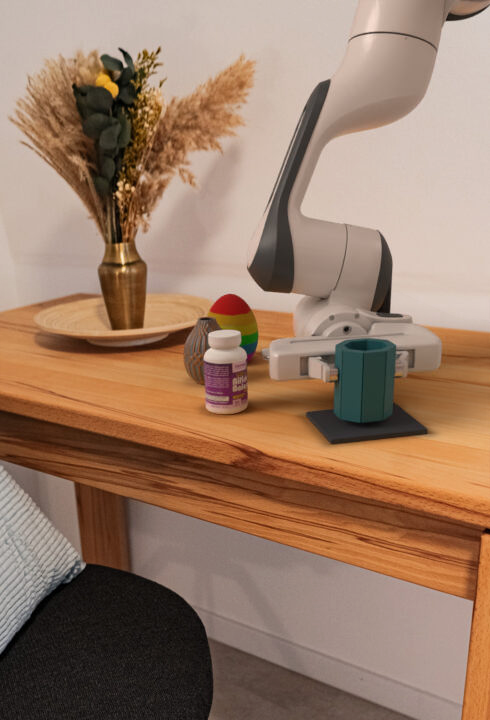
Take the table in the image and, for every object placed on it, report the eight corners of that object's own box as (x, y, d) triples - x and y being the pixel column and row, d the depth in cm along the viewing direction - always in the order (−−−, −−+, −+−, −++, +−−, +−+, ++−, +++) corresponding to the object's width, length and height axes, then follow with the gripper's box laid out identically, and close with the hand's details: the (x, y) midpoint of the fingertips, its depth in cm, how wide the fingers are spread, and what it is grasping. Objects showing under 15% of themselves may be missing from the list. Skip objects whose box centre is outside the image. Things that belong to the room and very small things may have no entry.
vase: (226, 388, 114) (223, 324, 110) (178, 387, 116) (174, 324, 113) (239, 374, 120) (237, 312, 116) (193, 373, 122) (190, 312, 118)
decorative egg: (193, 365, 126) (190, 297, 122) (223, 352, 132) (221, 287, 128) (240, 371, 121) (238, 301, 117) (268, 357, 127) (268, 290, 123)
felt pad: (394, 407, 102) (394, 402, 102) (427, 434, 93) (428, 428, 93) (305, 416, 101) (305, 411, 101) (331, 444, 92) (331, 439, 92)
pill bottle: (242, 416, 103) (240, 338, 99) (201, 414, 105) (197, 338, 101) (252, 402, 108) (250, 327, 104) (212, 401, 109) (209, 327, 105)
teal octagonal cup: (379, 402, 100) (382, 336, 96) (398, 419, 94) (403, 349, 91) (328, 407, 99) (330, 341, 96) (345, 424, 94) (347, 354, 90)
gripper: (258, 324, 105) (273, 352, 93) (422, 313, 105) (459, 339, 92) (259, 373, 108) (274, 406, 95) (418, 362, 107) (454, 394, 95)
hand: (366, 373), depth 94 cm, fingers closed on teal octagonal cup, 6 cm apart
